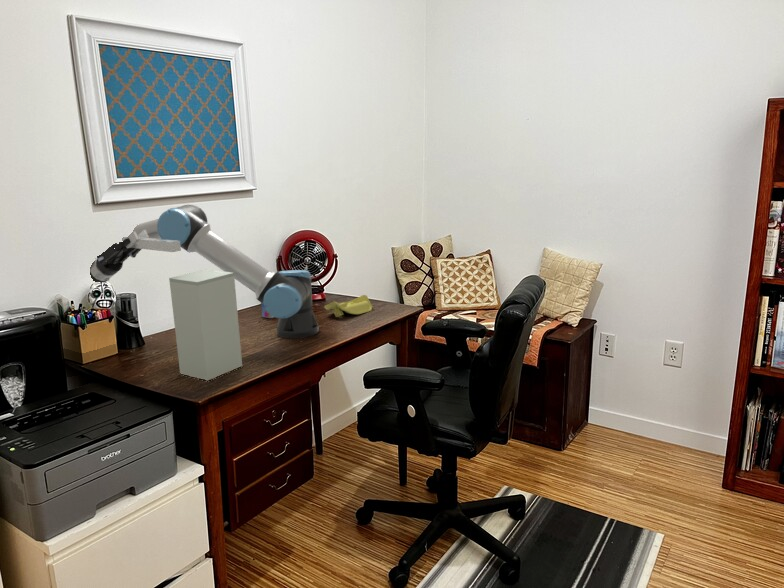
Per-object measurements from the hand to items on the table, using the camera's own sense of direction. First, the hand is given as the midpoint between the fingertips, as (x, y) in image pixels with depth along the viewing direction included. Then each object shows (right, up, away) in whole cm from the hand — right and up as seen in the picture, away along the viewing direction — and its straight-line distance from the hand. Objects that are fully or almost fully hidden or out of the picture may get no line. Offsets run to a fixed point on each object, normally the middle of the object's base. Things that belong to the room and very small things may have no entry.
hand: (141, 234), depth 196 cm
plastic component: (+61, -27, +56) cm, 87 cm away
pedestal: (+23, -42, -4) cm, 48 cm away
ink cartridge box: (+31, -27, +56) cm, 70 cm away
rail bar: (+4, -5, -1) cm, 6 cm away
